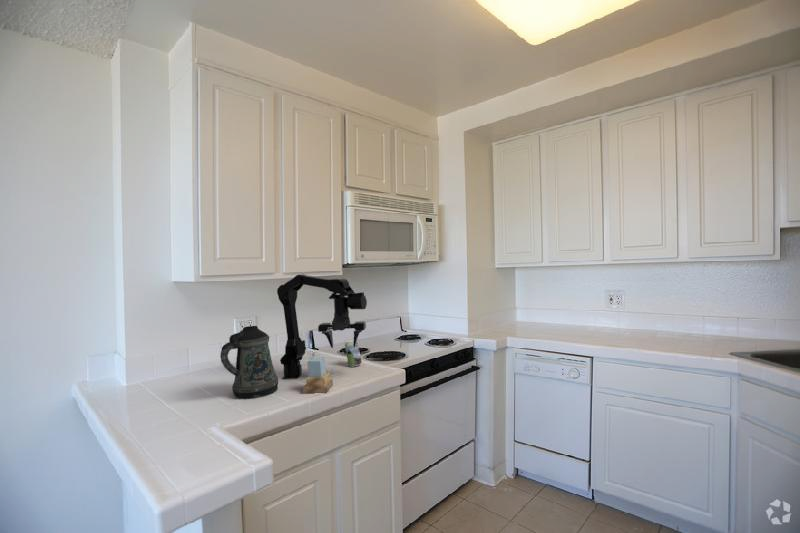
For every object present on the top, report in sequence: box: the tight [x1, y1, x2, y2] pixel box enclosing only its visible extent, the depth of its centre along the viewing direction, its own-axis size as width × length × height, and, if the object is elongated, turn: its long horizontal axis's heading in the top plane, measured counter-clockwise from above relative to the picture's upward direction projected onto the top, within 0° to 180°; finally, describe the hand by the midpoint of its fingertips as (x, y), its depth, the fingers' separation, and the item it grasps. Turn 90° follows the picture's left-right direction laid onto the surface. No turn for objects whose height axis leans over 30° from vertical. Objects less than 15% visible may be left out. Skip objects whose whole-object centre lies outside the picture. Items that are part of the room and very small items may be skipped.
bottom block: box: [302, 378, 334, 395], centre depth 144 cm, size 9×9×3 cm
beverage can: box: [344, 339, 362, 368], centre depth 175 cm, size 6×7×12 cm
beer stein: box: [219, 325, 279, 400], centre depth 143 cm, size 16×19×25 cm
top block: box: [305, 372, 331, 387], centre depth 143 cm, size 7×7×3 cm
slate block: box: [307, 357, 327, 377], centre depth 144 cm, size 5×5×6 cm
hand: (343, 347), depth 155 cm, fingers open, 9 cm apart
